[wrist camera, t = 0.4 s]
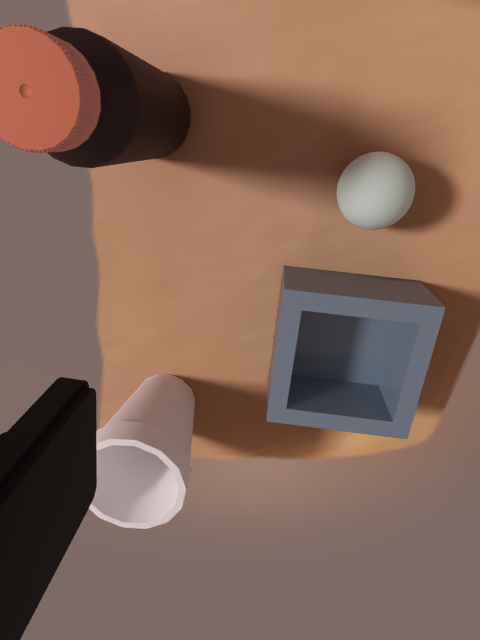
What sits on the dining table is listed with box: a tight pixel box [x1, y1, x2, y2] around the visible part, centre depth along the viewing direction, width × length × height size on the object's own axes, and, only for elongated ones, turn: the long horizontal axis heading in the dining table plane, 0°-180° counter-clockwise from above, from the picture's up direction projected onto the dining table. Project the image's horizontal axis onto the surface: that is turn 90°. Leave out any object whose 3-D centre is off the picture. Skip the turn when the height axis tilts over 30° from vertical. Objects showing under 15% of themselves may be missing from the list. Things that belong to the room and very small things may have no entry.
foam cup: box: [89, 374, 195, 529], centre depth 42 cm, size 10×9×13 cm
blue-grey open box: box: [266, 266, 446, 439], centre depth 40 cm, size 13×13×7 cm
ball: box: [337, 151, 415, 230], centre depth 35 cm, size 6×6×6 cm
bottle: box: [0, 24, 190, 168], centre depth 28 cm, size 7×7×20 cm
